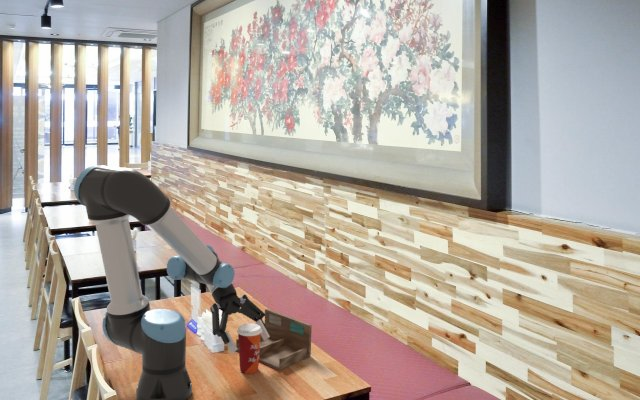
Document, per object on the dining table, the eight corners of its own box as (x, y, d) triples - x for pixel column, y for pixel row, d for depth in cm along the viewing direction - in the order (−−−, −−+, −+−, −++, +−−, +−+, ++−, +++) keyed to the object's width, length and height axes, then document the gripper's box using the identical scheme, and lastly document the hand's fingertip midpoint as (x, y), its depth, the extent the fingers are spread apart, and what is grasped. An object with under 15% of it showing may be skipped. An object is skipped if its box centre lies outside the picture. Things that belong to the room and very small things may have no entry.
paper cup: (256, 376, 161) (257, 333, 159) (233, 373, 163) (233, 330, 161) (264, 365, 169) (265, 323, 167) (241, 362, 170) (242, 321, 168)
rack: (278, 370, 166) (279, 337, 164) (233, 349, 180) (234, 318, 178) (310, 356, 177) (311, 324, 175) (266, 337, 191) (266, 308, 190)
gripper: (244, 286, 185) (273, 339, 178) (184, 302, 166) (214, 363, 159) (255, 274, 181) (285, 328, 174) (194, 290, 162) (225, 351, 155)
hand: (251, 345), depth 166 cm, fingers open, 13 cm apart
